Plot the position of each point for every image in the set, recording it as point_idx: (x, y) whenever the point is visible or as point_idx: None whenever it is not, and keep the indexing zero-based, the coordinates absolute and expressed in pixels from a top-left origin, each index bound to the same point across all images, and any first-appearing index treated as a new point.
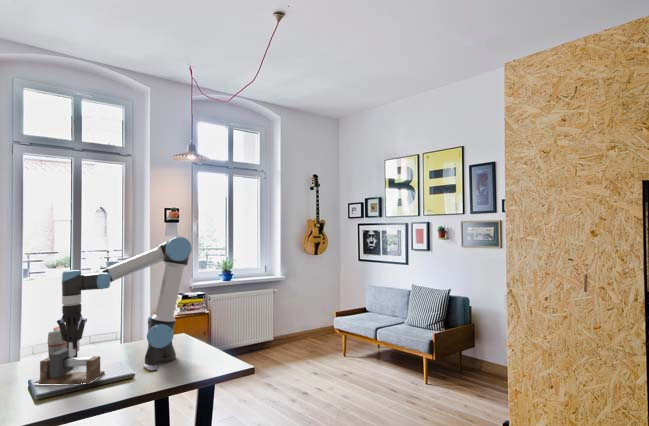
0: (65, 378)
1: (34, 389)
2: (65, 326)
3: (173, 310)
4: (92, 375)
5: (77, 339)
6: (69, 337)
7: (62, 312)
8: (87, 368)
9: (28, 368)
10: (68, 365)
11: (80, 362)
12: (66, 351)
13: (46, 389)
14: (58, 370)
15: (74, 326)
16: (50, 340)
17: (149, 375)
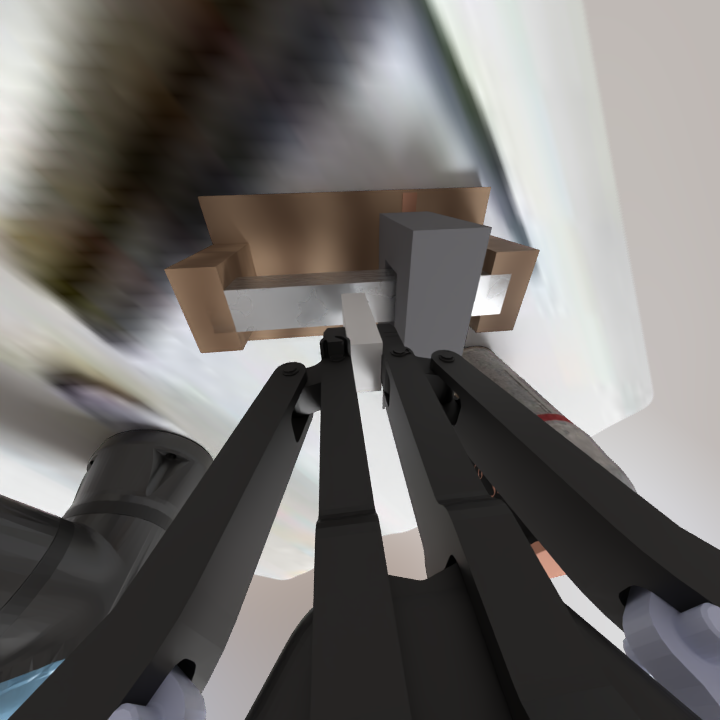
0: (360, 243)
1: (456, 121)
2: (533, 531)
3: None
4: (208, 247)
5: (284, 368)
6: (392, 383)
7: None
8: (224, 254)
9: (577, 378)
10: (358, 271)
11: (282, 281)
12: (404, 328)
13: (389, 118)
14: (387, 217)
15: (319, 537)
16: (582, 442)
17: (9, 327)
